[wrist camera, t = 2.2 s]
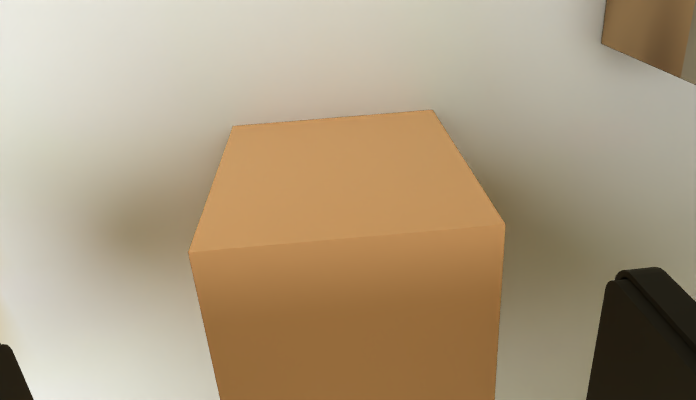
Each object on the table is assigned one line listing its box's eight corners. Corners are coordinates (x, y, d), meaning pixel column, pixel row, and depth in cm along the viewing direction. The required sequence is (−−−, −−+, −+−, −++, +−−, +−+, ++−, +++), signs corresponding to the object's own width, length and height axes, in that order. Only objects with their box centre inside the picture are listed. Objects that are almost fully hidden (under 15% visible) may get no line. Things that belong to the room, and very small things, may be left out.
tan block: (431, 320, 16) (487, 503, 11) (267, 335, 16) (248, 527, 11) (431, 108, 13) (505, 224, 8) (233, 124, 13) (188, 252, 8)
